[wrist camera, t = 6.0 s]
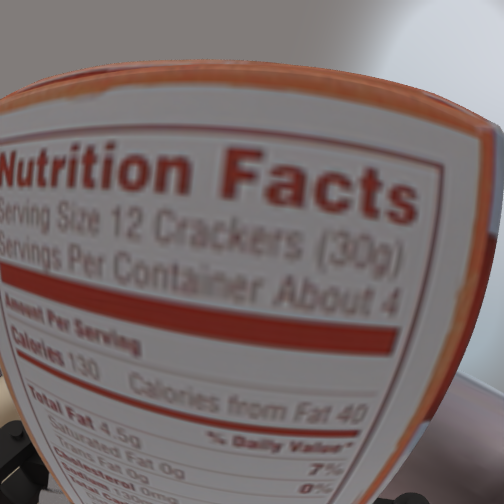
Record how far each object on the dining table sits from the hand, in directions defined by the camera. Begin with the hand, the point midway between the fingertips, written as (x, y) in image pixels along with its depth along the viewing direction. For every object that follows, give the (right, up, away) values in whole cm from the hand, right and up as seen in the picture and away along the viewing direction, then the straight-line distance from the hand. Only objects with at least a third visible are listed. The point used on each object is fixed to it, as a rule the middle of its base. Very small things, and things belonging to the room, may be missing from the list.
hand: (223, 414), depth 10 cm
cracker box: (-1, -11, +3) cm, 12 cm away
